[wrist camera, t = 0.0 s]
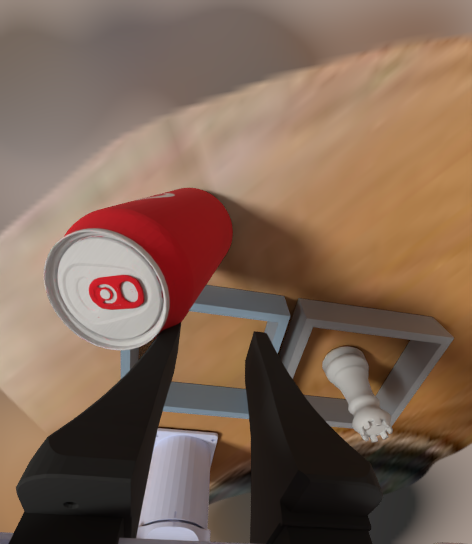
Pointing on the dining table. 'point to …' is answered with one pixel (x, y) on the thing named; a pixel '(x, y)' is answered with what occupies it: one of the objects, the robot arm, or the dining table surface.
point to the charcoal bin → (418, 329)
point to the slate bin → (226, 304)
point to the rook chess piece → (357, 391)
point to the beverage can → (136, 266)
